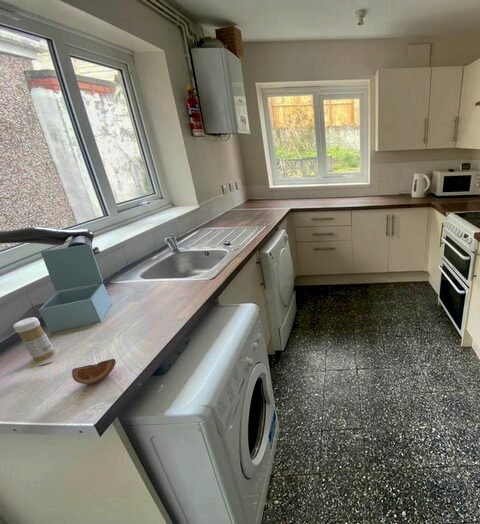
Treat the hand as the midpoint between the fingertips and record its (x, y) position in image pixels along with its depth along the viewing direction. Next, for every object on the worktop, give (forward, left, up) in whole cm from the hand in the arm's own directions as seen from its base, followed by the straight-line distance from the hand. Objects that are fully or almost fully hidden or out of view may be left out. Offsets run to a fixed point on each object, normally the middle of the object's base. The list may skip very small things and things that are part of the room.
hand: (77, 259), depth 106 cm
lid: (0, -5, -1) cm, 5 cm away
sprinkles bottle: (-1, -37, -18) cm, 42 cm away
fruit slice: (+15, -53, -18) cm, 58 cm away
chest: (0, -12, -18) cm, 22 cm away
